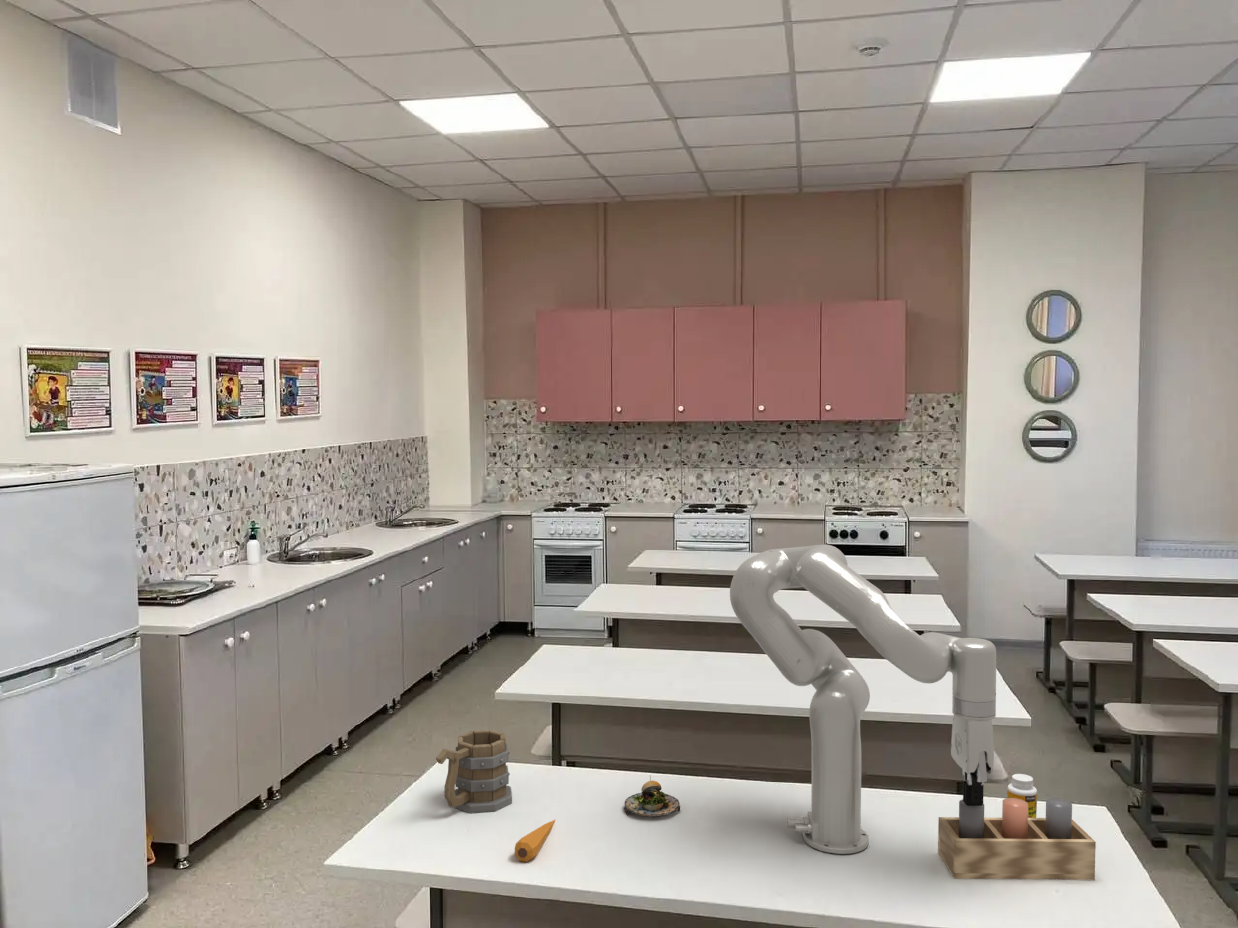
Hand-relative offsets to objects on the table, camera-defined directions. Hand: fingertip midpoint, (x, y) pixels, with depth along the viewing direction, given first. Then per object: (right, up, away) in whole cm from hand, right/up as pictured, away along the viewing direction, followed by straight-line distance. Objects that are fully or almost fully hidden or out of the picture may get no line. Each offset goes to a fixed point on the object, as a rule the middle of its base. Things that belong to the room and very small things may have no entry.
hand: (973, 803), depth 178 cm
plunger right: (+16, -7, 0) cm, 17 cm away
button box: (+8, -12, +1) cm, 14 cm away
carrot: (-81, -12, +12) cm, 83 cm away
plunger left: (0, -7, +1) cm, 7 cm away
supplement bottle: (+16, -11, +17) cm, 26 cm away
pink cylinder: (+8, -7, 0) cm, 10 cm away
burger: (-59, -11, +26) cm, 65 cm away
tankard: (-98, -11, +28) cm, 102 cm away
